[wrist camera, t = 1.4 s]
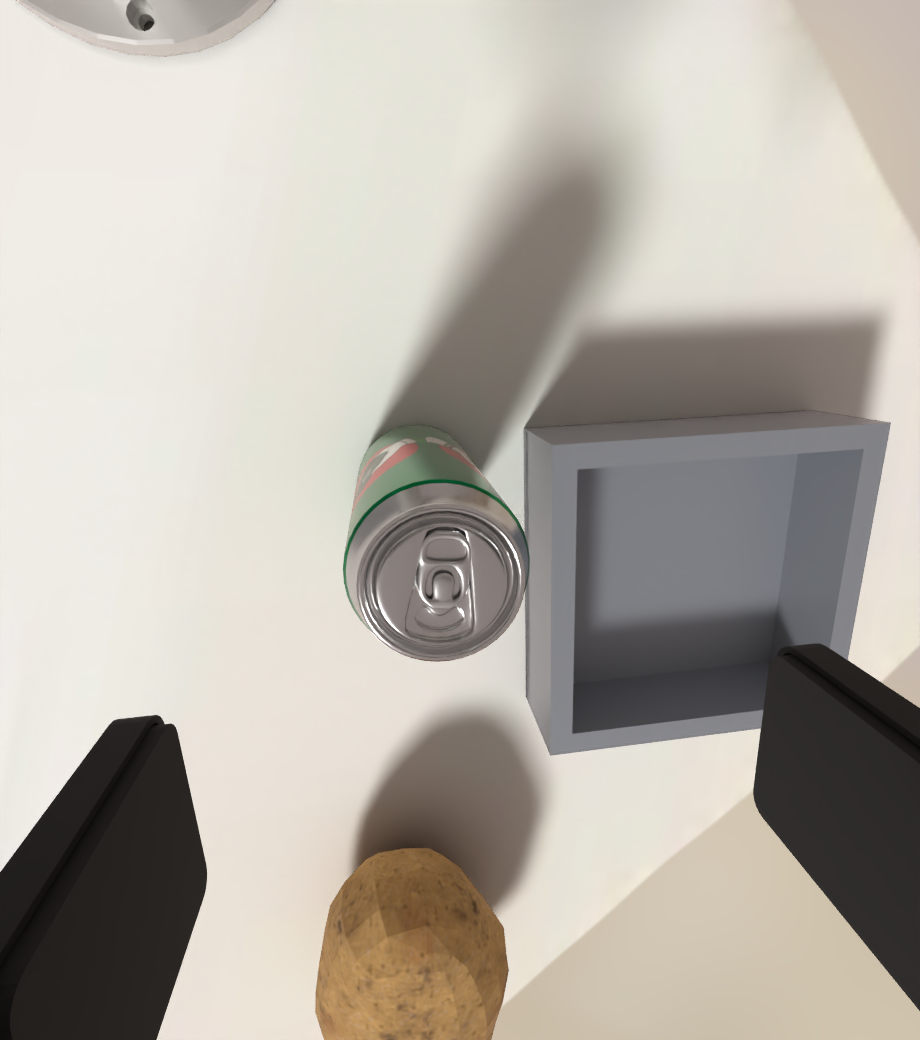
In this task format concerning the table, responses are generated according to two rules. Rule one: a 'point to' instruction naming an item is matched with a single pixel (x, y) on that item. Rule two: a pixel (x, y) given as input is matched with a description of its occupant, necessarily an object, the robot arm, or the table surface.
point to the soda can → (432, 548)
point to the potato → (410, 953)
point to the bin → (687, 566)
